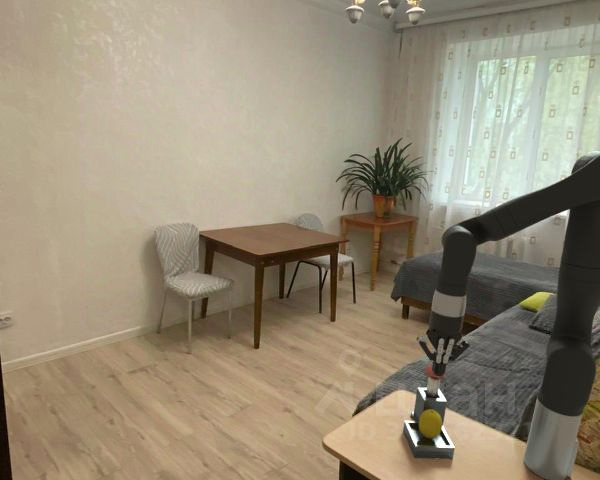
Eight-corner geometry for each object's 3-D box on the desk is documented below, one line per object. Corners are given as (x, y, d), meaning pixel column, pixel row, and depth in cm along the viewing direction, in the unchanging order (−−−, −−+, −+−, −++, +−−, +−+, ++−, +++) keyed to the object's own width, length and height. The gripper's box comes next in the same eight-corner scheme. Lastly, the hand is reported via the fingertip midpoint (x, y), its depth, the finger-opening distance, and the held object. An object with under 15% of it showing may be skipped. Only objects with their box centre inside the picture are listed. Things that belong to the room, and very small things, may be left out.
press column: (435, 415, 119) (439, 387, 117) (444, 432, 112) (449, 402, 110) (410, 414, 119) (415, 386, 117) (418, 431, 112) (423, 401, 110)
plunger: (436, 398, 117) (441, 365, 115) (442, 410, 112) (448, 375, 110) (418, 398, 117) (423, 364, 114) (424, 409, 112) (429, 374, 109)
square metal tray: (438, 432, 112) (440, 422, 111) (452, 459, 103) (454, 447, 102) (403, 431, 112) (404, 420, 111) (414, 457, 102) (415, 446, 102)
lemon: (425, 427, 111) (429, 400, 109) (443, 440, 106) (448, 412, 105) (412, 435, 107) (416, 407, 105) (430, 448, 103) (435, 420, 101)
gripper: (467, 304, 105) (457, 367, 108) (415, 302, 104) (407, 365, 108) (482, 317, 97) (470, 384, 101) (426, 314, 96) (416, 382, 100)
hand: (437, 374), depth 104 cm, fingers closed
